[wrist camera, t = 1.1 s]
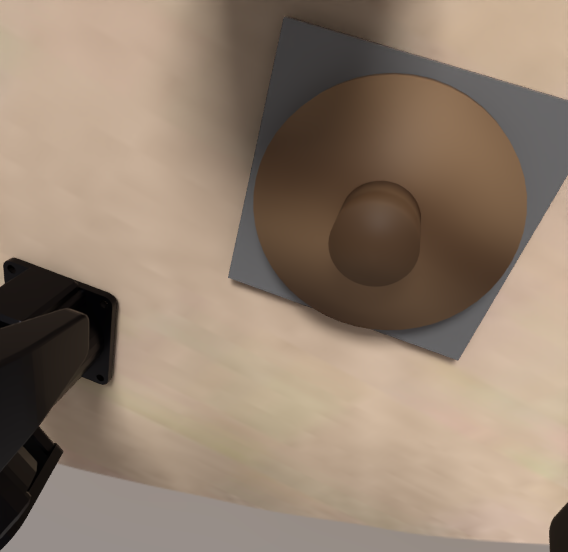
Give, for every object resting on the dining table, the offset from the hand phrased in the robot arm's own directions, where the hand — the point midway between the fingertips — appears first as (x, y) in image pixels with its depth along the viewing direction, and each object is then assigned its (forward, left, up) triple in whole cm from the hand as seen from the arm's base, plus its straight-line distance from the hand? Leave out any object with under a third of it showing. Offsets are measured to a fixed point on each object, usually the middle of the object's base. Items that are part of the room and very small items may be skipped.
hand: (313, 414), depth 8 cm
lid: (0, 0, -12) cm, 12 cm away
